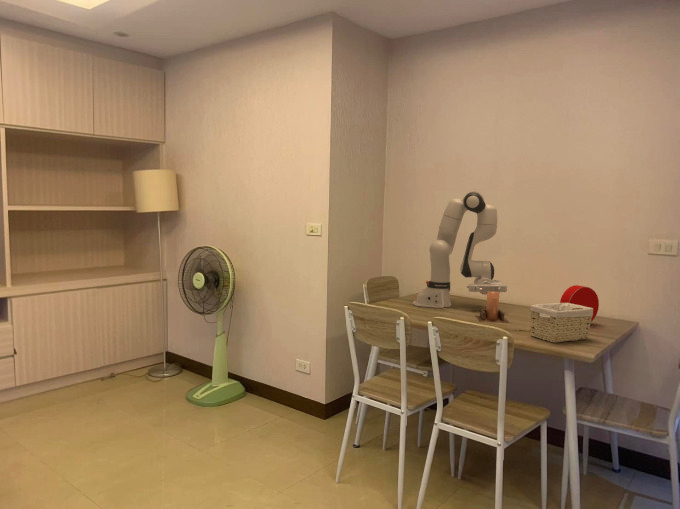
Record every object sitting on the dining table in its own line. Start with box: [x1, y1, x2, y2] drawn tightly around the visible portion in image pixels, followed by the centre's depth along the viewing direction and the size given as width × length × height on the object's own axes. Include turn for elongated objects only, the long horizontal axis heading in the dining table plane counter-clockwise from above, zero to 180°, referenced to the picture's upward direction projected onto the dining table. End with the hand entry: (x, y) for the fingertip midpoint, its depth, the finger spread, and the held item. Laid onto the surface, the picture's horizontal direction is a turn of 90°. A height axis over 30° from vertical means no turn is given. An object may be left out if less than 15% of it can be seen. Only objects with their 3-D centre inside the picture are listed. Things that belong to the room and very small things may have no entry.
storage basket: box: [529, 302, 593, 344], centre depth 236 cm, size 24×16×15 cm
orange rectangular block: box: [485, 291, 500, 320], centre depth 265 cm, size 6×8×14 cm
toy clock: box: [559, 284, 600, 323], centre depth 263 cm, size 20×6×20 cm, turn 111°
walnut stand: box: [474, 308, 511, 324], centre depth 267 cm, size 15×15×5 cm
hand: (489, 290), depth 278 cm, fingers open, 8 cm apart
